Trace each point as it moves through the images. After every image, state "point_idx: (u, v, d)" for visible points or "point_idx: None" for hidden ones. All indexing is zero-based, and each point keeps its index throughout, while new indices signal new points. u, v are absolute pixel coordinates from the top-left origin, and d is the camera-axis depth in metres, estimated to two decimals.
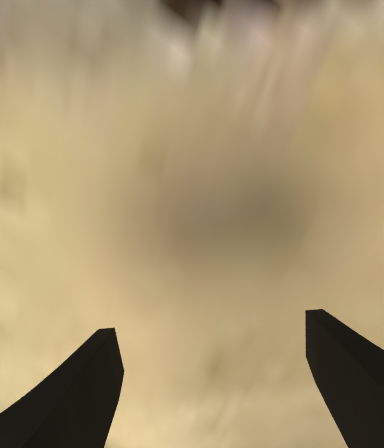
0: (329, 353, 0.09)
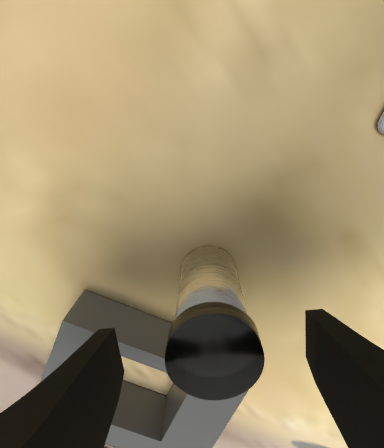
0: (329, 353, 0.09)
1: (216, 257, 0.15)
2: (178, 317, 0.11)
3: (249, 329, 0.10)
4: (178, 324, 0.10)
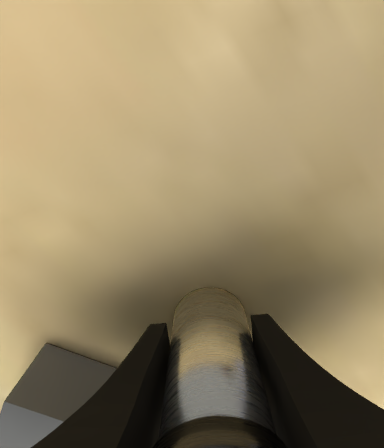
0: (264, 358, 0.09)
1: (222, 307, 0.11)
2: (162, 439, 0.07)
3: None
4: None
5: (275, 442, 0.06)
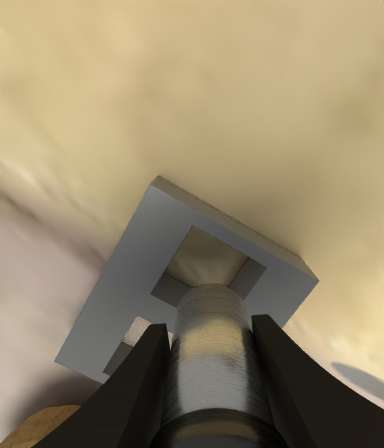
0: (264, 358, 0.09)
1: (225, 304, 0.11)
2: (164, 429, 0.07)
3: None
4: None
5: (275, 436, 0.07)
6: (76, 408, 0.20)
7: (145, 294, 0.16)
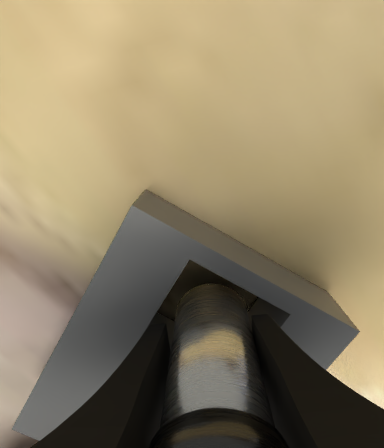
0: (264, 358, 0.09)
1: (225, 304, 0.11)
2: (164, 429, 0.07)
3: None
4: None
5: (275, 435, 0.07)
6: None
7: (128, 348, 0.12)
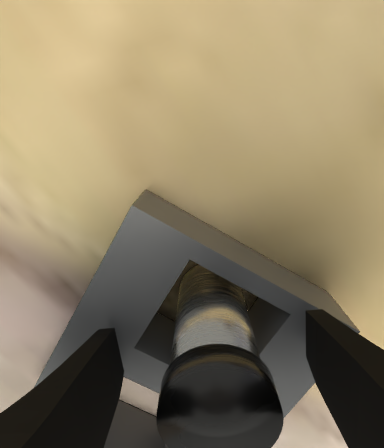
0: (329, 353, 0.09)
1: (221, 277, 0.13)
2: (175, 361, 0.09)
3: (266, 384, 0.08)
4: (175, 372, 0.08)
5: (261, 364, 0.09)
6: None
7: (128, 348, 0.12)
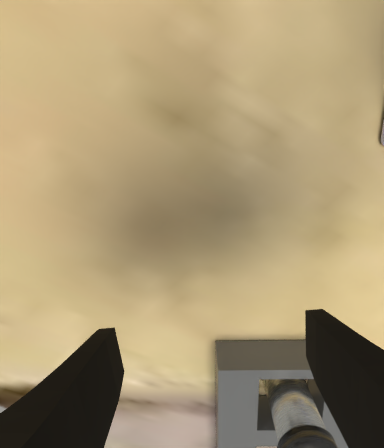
0: (329, 353, 0.09)
1: None
2: (278, 444, 0.18)
3: (322, 441, 0.17)
4: None
5: (317, 429, 0.17)
6: None
7: (254, 431, 0.22)
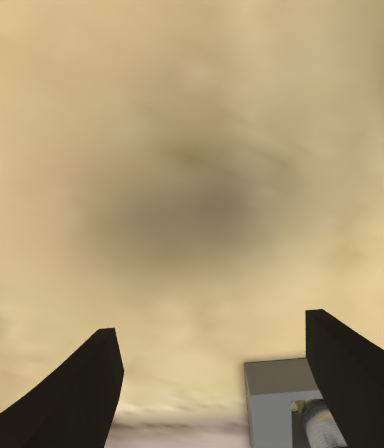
0: (329, 353, 0.09)
1: None
2: None
3: None
4: None
5: None
6: None
7: None
